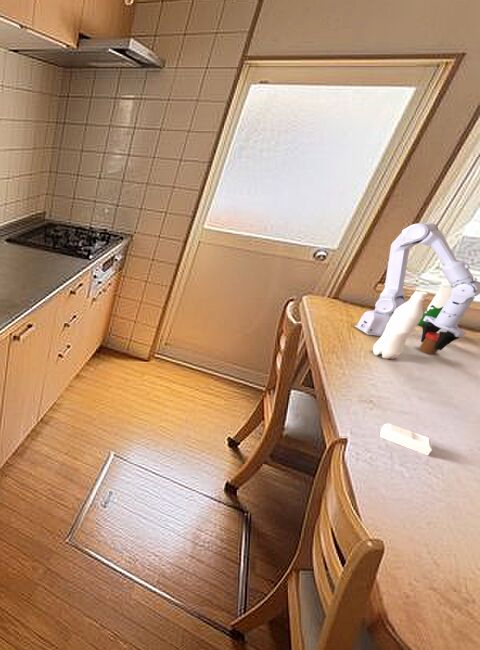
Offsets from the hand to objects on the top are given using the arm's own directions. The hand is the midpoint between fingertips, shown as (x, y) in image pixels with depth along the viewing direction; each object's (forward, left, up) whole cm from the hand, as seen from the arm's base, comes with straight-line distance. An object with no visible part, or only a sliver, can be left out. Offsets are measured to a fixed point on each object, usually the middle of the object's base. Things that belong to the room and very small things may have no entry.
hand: (430, 345), depth 159 cm
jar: (0, 0, -2) cm, 2 cm away
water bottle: (-22, -9, -3) cm, 24 cm away
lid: (0, 0, +4) cm, 4 cm away
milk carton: (+24, +28, -3) cm, 37 cm away
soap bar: (-55, -63, -3) cm, 84 cm away
